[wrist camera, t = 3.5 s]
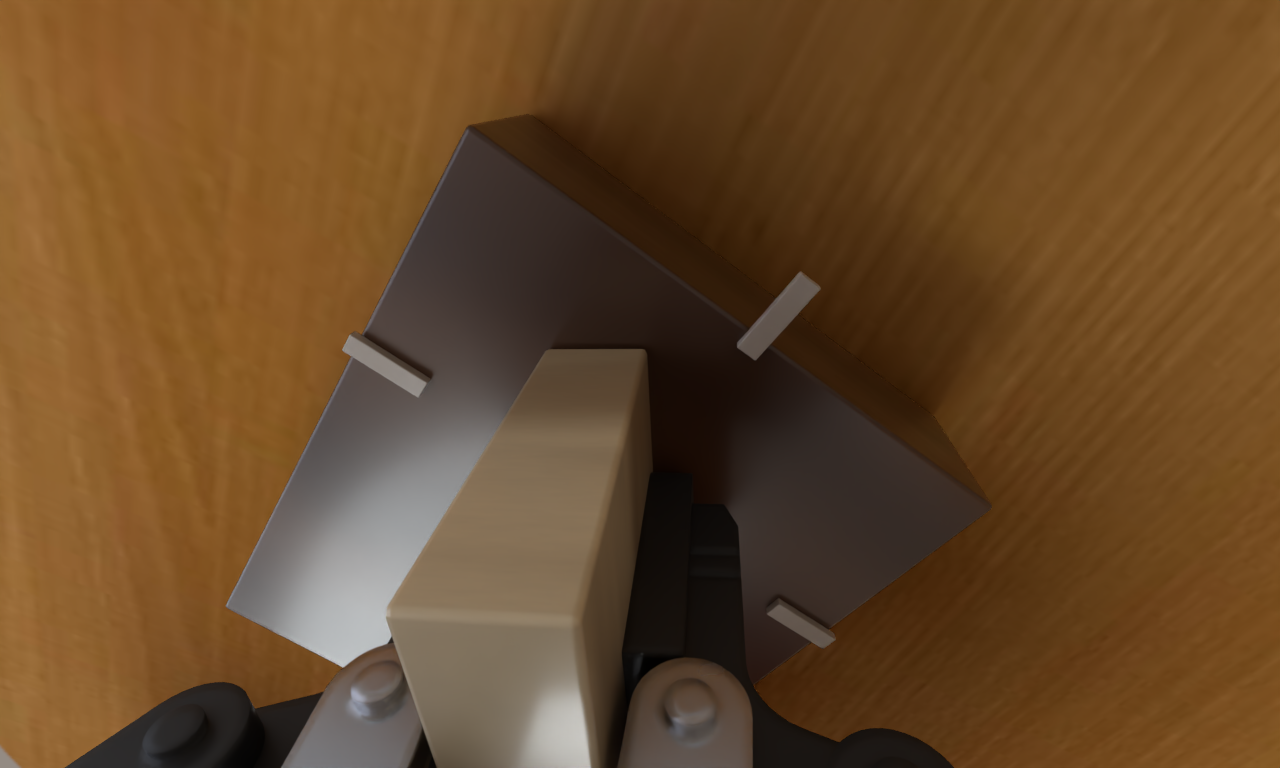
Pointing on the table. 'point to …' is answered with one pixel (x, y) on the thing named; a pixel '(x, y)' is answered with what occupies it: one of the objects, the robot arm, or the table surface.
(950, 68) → the table surface
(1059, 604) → the table surface
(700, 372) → the panel
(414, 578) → the handle
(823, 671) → the table surface
